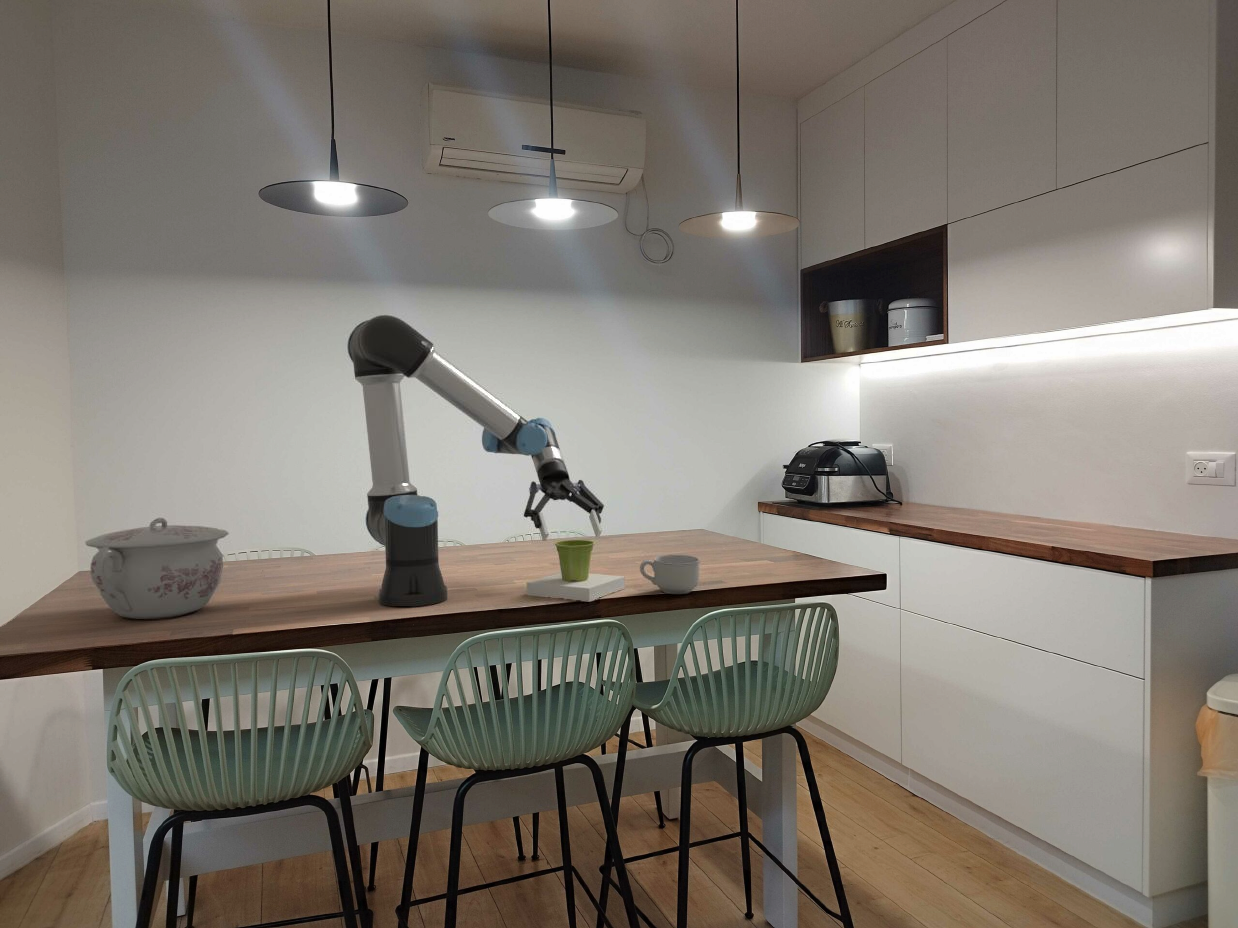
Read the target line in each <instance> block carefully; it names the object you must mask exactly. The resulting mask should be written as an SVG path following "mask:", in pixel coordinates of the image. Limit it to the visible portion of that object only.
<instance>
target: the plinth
mask: <svg viewBox="0 0 1238 928" xmlns="http://www.w3.org/2000/svg"><path fill="white" fill-rule="evenodd" d="M624 588H625V589H626V577H625V576H623V575H622V576H621V575H611V574H600V573H599V574H597V573H589V576H588V579H587V580H584V581H576V580H572V581H565V580H563V579H562V575H561V572H558V573H556V574H551V575H548V576H544V577H540V578H537V579H534V580H530V581H526V596H529V597H531V596H532V597H540V598H541V597H542V598H548V597H550V599H558V598H564V599H563V600H567V599H573V600H572V601H576V600H581V601H580V602H588V603H590V602H593V601H595V599H596V600H598V599H597V598H599V597H602V596H604V595H606V594H609V593H612V592H615V591H618V590H621V589H624ZM625 589H624V590H625ZM621 591H622V590H621ZM604 597H605V596H604ZM602 598H603V597H602ZM599 599H600V598H599Z"/></svg>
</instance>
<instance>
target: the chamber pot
mask: <svg viewBox="0 0 1238 928" xmlns="http://www.w3.org/2000/svg"><path fill="white" fill-rule="evenodd" d="M158 524H161V525H158ZM229 534H230V533H229V532H228V531H227V530H226V529H222V528H221V529H219V528H218V527H210V526H200V525H179V524H178V525H176V524H175V525H174V524H173V525H171V524H169V525H168V521H167V520H166V519H165V518H163V517H158V518H155V519H154V520H152V521H151V522H150V524H149V526H144V527H137V528H136V527H135V528H129V529H123V530H119V531H114V532H109V533H104V534H101V535H98V536H96V537H92V538H90V539H88V540H86V541H85V542H84V543H85V545H86V546H87V547H91V548H95V549H97V550H98V551H97V552H96V553H95V554H94V555H93V556H92V560H91V563H90V577H91V579H92V582H93V584H94V585H95V586H96V588H97V590H99V593H100V594H99V595H100V597H101V598H102V599H103V600H104V602H105V603H106V604H107V605H108V607H109V608H110V610H112V611H113V612H114V613H115V614H116V615H118V616H120V617H124V618H129V619H131V620H138V619H152V620H163V618H164V619H171V618H176V617H177V618H178V617H181V616H185V615H189V614H191V613H194V612H197V611H198V610H200V609H202V608H204V607H205V606H206V605H207V604H209V602H210V601H211V599H212V598H213V596H214V594H215V592H216V591H217V590H218V587H219V585H220V584H221V580H222V574H223V568H224V559H223V558H224V557H223V553H222V551H221V549H220V548H219V547H218V546H217V545H218V542H219V540H220V539H225V537H227V536H228V535H229Z"/></svg>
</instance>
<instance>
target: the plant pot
mask: <svg viewBox="0 0 1238 928" xmlns="http://www.w3.org/2000/svg"><path fill="white" fill-rule="evenodd" d="M595 544H596V542H595V541H593V540H588V539H567V540H560V541H556V542H554V546H555V547H556V551H557V553H558V560H559V568H560V573H561V575H562V579H563V580H565V581H572V580H576V581H584V580H587V579H588V576H589V574H590V566H591V558H592V557H591V556H592V552H593V549H594V545H595Z"/></svg>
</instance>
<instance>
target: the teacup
mask: <svg viewBox="0 0 1238 928" xmlns="http://www.w3.org/2000/svg"><path fill="white" fill-rule="evenodd" d="M700 562H701V559H700V558H699V557H697V556H694V555H690V554H689V555H687V554H678V553H677V554H676V553H674V554H660V555H658V556H655V557H654V558H653V560H650V559H645V560H643V561H642V562H641V563H640V564H639V572H640V574H641V575H642V576H643V577H644V578H645V579H647V580H649V581H650V582H651V584H653V585H654V586H656V587H657V588H659V589H660V590H661V591H662V592H663V593H666V594H669V595H670V594H671V595H683V594H684V595H685V594H689V593H691V592H692V591H693V590H694V589H695V588H696V587H697V586H698V584H699V580H700ZM646 565H650V566H651V568H652V571H653V575H654V576H651V575H649V574H647V572H646V571H645V566H646Z"/></svg>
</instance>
